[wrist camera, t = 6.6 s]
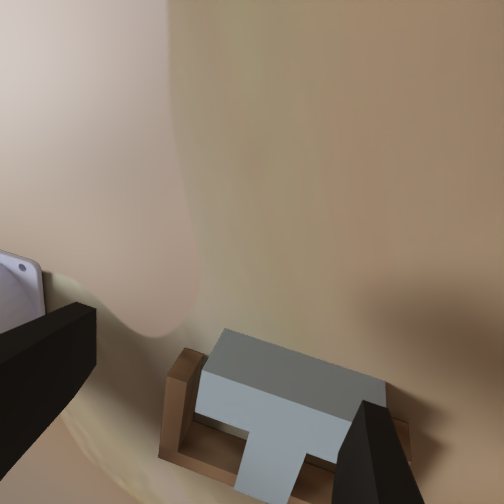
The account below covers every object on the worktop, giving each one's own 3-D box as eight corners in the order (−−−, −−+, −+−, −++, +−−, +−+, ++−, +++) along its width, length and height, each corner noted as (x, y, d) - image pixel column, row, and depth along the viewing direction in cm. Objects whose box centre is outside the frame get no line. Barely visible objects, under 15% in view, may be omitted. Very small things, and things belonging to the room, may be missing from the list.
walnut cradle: (174, 426, 27) (158, 457, 25) (184, 347, 24) (166, 375, 22) (367, 498, 25) (366, 538, 23) (408, 423, 22) (411, 462, 20)
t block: (206, 422, 26) (184, 470, 23) (225, 327, 22) (201, 369, 19) (341, 472, 25) (337, 530, 22) (385, 380, 21) (387, 434, 18)
